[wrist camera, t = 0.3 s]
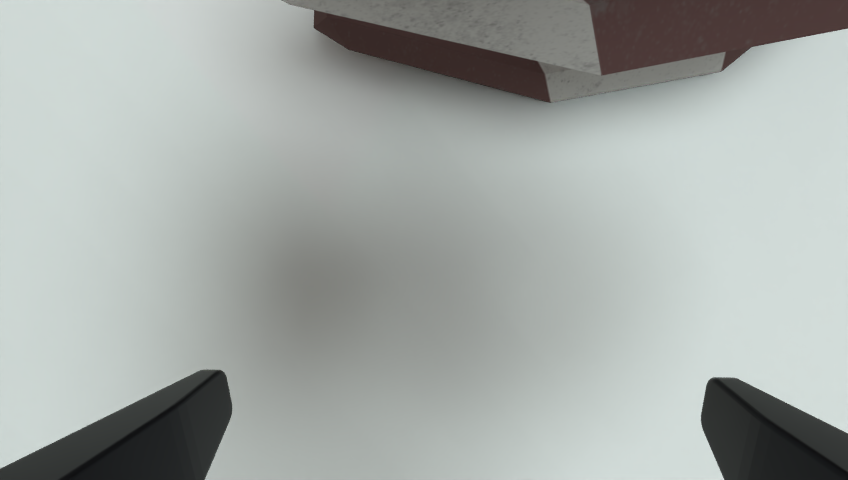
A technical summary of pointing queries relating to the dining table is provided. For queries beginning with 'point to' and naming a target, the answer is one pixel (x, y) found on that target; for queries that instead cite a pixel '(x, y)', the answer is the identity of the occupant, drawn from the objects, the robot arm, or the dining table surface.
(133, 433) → the robot arm
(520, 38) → the decorative basket
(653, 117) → the dining table surface
